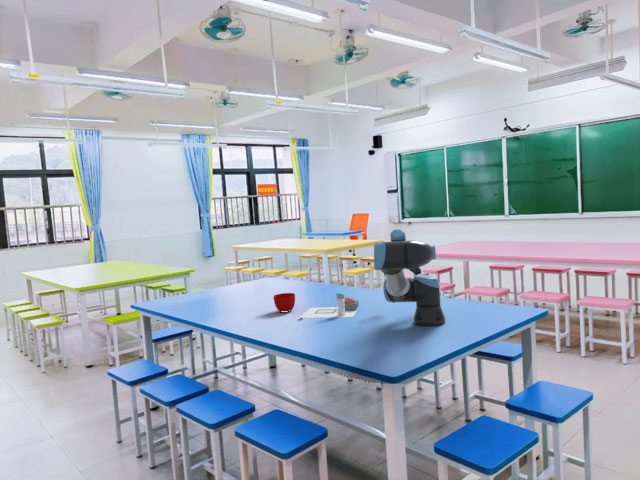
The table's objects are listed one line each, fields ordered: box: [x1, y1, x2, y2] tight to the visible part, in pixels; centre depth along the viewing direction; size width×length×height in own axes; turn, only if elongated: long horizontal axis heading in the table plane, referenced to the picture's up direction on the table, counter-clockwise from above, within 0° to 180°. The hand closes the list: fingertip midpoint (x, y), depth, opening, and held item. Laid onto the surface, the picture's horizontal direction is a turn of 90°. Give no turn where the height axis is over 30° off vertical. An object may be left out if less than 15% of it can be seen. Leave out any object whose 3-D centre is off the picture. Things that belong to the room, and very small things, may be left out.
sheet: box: [298, 306, 360, 319], centre depth 262 cm, size 24×30×1 cm
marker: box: [335, 292, 345, 316], centre depth 253 cm, size 4×4×12 cm
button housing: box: [344, 299, 360, 312], centre depth 266 cm, size 9×9×4 cm
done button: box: [344, 296, 354, 303], centre depth 266 cm, size 5×5×4 cm
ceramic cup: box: [273, 292, 296, 312], centre depth 279 cm, size 13×17×10 cm
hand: (403, 282), depth 258 cm, fingers open, 13 cm apart
